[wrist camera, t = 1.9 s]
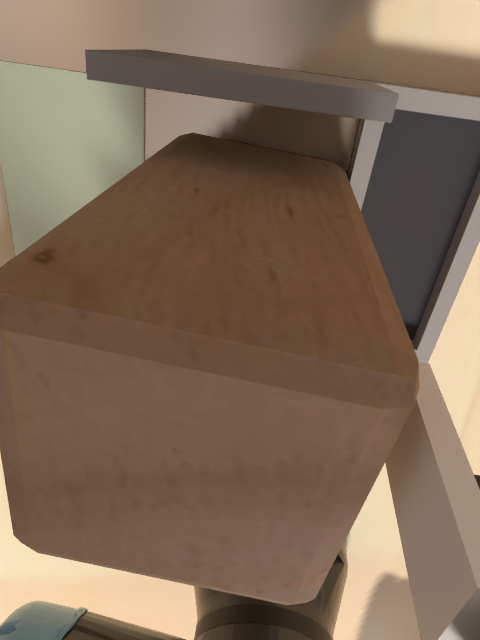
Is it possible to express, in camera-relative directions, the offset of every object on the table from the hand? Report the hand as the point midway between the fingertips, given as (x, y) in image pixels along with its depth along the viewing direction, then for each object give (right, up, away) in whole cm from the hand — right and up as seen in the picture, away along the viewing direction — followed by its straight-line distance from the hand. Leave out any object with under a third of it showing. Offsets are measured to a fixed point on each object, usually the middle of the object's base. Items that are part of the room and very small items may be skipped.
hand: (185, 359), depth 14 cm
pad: (-9, +10, +14) cm, 19 cm away
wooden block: (+2, +7, +14) cm, 16 cm away
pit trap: (+12, +6, +14) cm, 19 cm away
